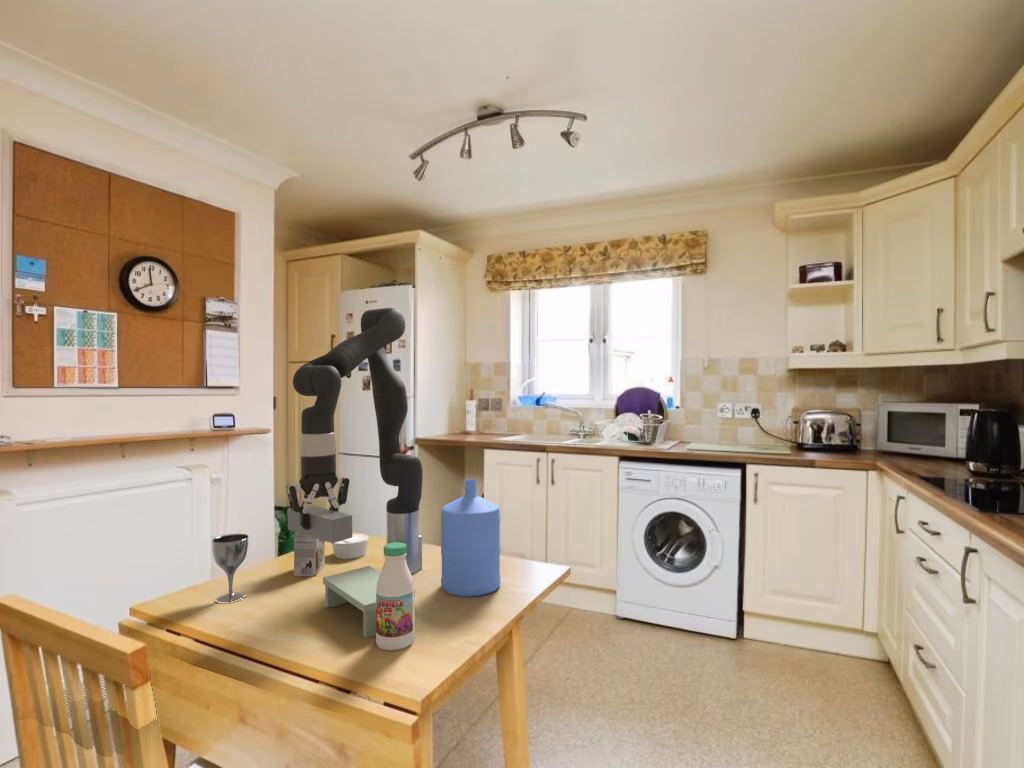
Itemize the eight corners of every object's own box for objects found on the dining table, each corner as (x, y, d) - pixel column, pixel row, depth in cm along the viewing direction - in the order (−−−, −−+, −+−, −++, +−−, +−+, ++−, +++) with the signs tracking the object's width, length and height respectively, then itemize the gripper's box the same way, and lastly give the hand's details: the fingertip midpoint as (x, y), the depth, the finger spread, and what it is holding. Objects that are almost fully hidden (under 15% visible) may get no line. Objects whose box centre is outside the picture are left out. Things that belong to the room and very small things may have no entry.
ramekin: (324, 559, 158) (324, 542, 158) (342, 548, 169) (342, 532, 169) (358, 561, 156) (358, 544, 156) (374, 550, 167) (374, 534, 167)
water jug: (508, 593, 131) (508, 483, 131) (448, 601, 126) (448, 487, 126) (490, 572, 146) (489, 474, 146) (435, 579, 140) (435, 477, 141)
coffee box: (303, 566, 152) (303, 511, 152) (325, 565, 153) (325, 510, 153) (292, 577, 143) (292, 519, 143) (316, 576, 144) (316, 518, 144)
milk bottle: (379, 634, 109) (379, 540, 109) (416, 632, 110) (415, 538, 110) (372, 652, 101) (372, 551, 102) (412, 651, 102) (412, 550, 102)
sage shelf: (369, 593, 131) (369, 565, 131) (414, 621, 115) (414, 590, 115) (322, 606, 123) (322, 577, 123) (364, 639, 107) (364, 605, 107)
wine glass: (232, 605, 124) (232, 543, 124) (204, 603, 126) (204, 541, 126) (255, 593, 132) (255, 534, 132) (228, 590, 133) (228, 532, 134)
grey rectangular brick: (307, 524, 125) (307, 504, 125) (352, 537, 114) (352, 515, 114) (287, 529, 121) (287, 508, 121) (332, 543, 110) (332, 519, 110)
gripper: (342, 448, 125) (343, 517, 125) (280, 454, 115) (281, 529, 115) (355, 451, 119) (356, 523, 119) (291, 457, 110) (292, 536, 110)
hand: (319, 526), depth 117 cm, fingers closed on grey rectangular brick, 5 cm apart
